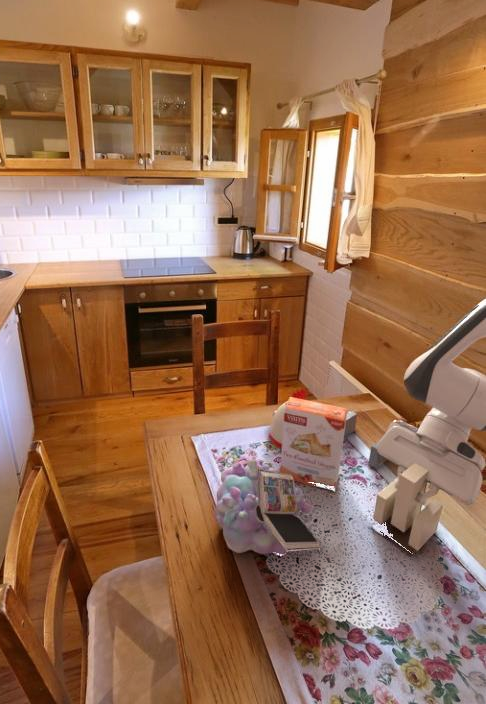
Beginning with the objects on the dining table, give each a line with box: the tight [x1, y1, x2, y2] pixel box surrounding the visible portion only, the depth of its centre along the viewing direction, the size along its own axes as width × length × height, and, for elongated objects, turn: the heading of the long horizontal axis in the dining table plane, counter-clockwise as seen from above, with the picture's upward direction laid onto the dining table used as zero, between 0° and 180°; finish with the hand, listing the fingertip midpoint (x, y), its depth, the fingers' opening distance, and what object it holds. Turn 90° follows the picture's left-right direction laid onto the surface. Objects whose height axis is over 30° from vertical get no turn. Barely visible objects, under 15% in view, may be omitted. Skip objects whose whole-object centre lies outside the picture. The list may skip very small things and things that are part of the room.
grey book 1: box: [344, 410, 358, 438], centre depth 118 cm, size 2×10×6 cm, turn 128°
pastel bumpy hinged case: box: [214, 455, 321, 555], centre depth 85 cm, size 20×22×18 cm
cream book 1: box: [372, 477, 398, 525], centre depth 89 cm, size 2×8×7 cm, turn 128°
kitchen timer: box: [268, 388, 308, 450], centre depth 116 cm, size 14×14×15 cm
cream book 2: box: [408, 499, 444, 552], centre depth 83 cm, size 2×8×7 cm, turn 128°
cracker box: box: [279, 396, 348, 488], centre depth 99 cm, size 14×6×21 cm, turn 68°
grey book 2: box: [368, 439, 388, 469], centre depth 109 cm, size 2×10×6 cm, turn 128°
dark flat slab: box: [380, 515, 418, 558], centre depth 88 cm, size 9×10×2 cm
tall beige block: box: [391, 463, 428, 532], centre depth 85 cm, size 3×6×13 cm, turn 128°
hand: (408, 496), depth 84 cm, fingers closed on tall beige block, 3 cm apart
